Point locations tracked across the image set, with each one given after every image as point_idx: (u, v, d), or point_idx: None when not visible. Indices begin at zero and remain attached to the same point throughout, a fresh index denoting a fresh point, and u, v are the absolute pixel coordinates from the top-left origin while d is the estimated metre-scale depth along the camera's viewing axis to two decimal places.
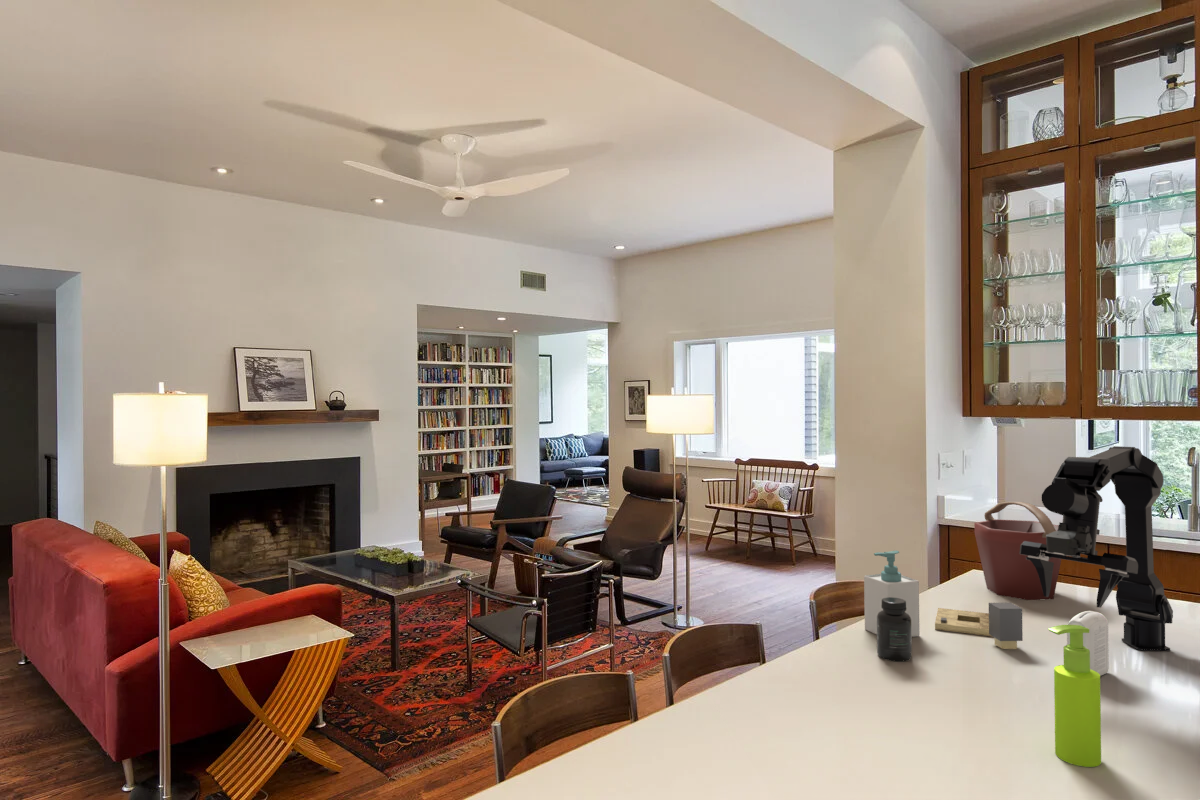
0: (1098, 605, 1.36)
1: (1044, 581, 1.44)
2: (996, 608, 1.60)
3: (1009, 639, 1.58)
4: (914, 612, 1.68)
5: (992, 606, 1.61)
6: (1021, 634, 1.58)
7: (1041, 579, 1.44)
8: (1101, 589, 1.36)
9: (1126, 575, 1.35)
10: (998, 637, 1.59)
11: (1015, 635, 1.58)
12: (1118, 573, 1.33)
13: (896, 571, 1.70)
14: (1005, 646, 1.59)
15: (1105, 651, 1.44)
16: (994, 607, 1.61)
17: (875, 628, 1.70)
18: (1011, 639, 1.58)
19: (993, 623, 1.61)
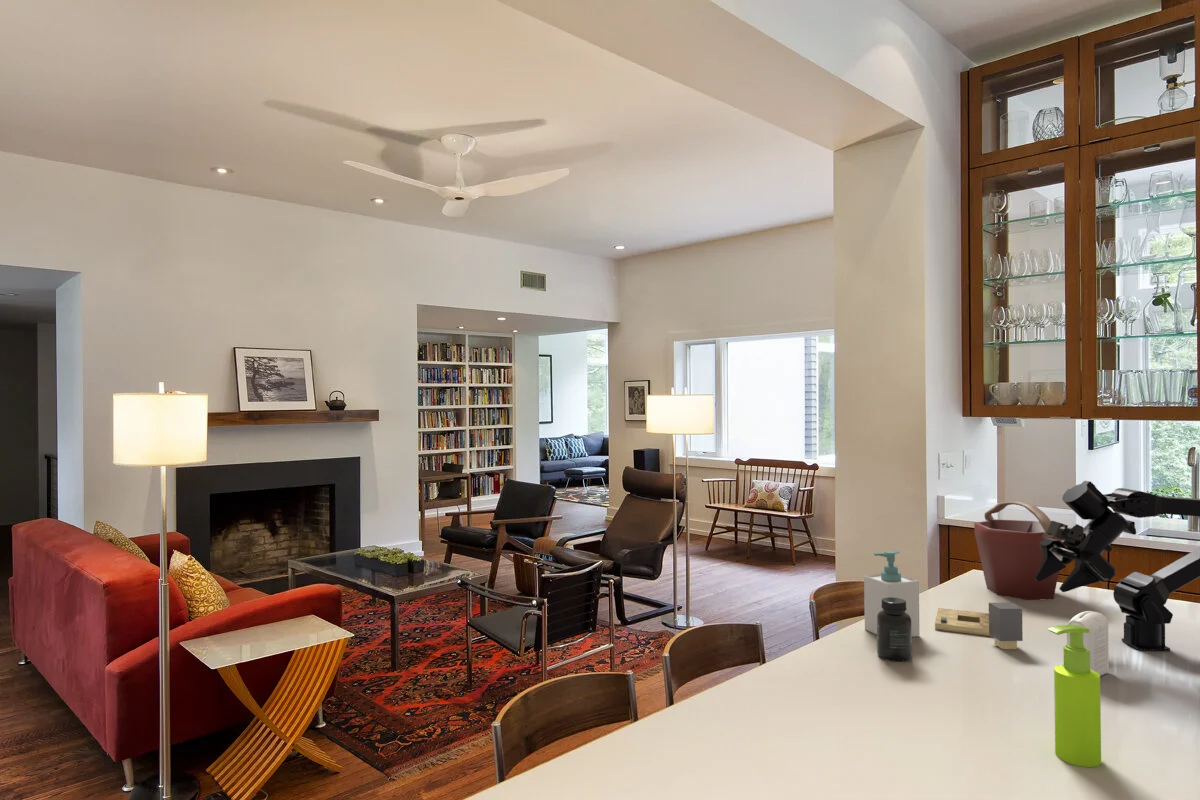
0: (1060, 587, 1.56)
1: (1041, 567, 1.65)
2: (996, 608, 1.60)
3: (1009, 639, 1.58)
4: (914, 612, 1.68)
5: (992, 606, 1.61)
6: (1021, 634, 1.58)
7: (1041, 565, 1.66)
8: (1069, 576, 1.55)
9: (1098, 576, 1.52)
10: (998, 637, 1.59)
11: (1015, 635, 1.58)
12: (1086, 564, 1.52)
13: (896, 571, 1.70)
14: (1005, 646, 1.59)
15: (1105, 651, 1.44)
16: (994, 607, 1.61)
17: (875, 628, 1.70)
18: (1011, 639, 1.58)
19: (993, 623, 1.61)
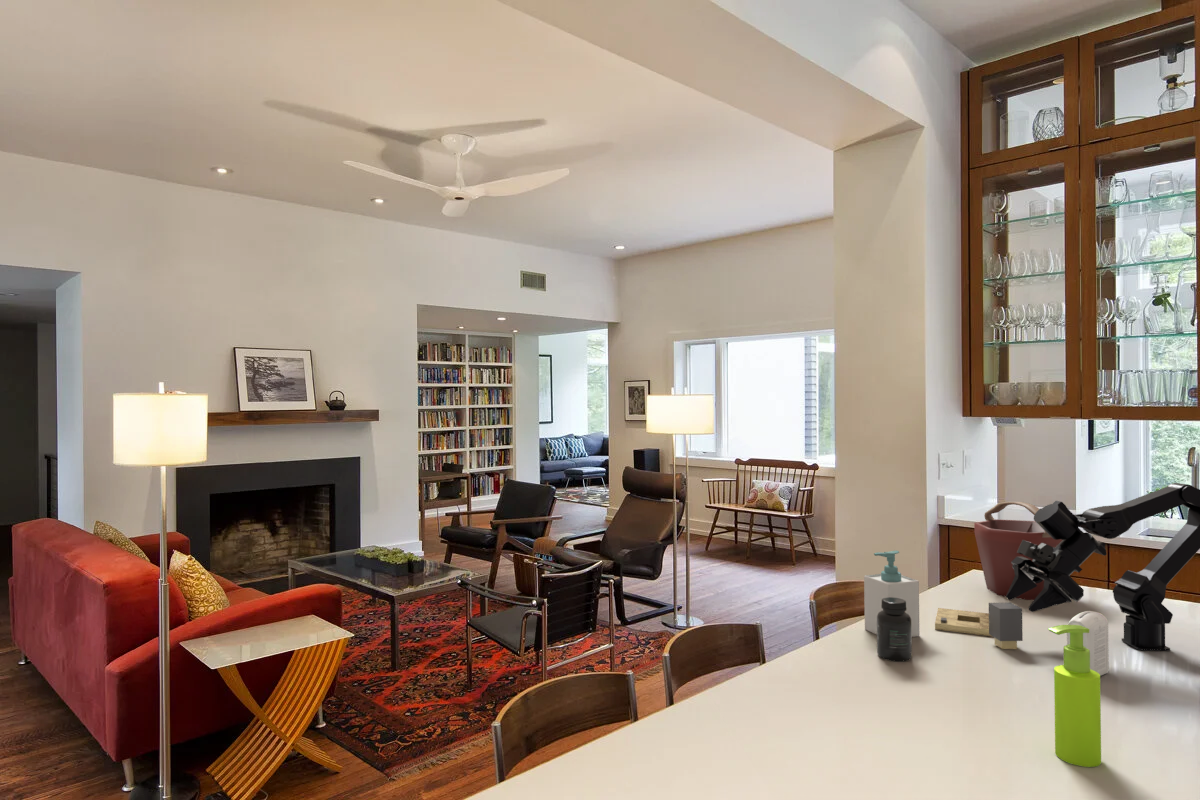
0: (1029, 607, 1.56)
1: (1012, 586, 1.65)
2: (996, 608, 1.60)
3: (1009, 639, 1.58)
4: (914, 612, 1.68)
5: (992, 606, 1.61)
6: (1021, 634, 1.58)
7: (1012, 584, 1.66)
8: (1038, 596, 1.55)
9: (1066, 597, 1.52)
10: (998, 637, 1.59)
11: (1015, 635, 1.58)
12: (1054, 585, 1.53)
13: (896, 571, 1.70)
14: (1005, 646, 1.59)
15: (1105, 651, 1.44)
16: (994, 607, 1.61)
17: (875, 628, 1.70)
18: (1011, 639, 1.58)
19: (993, 623, 1.61)
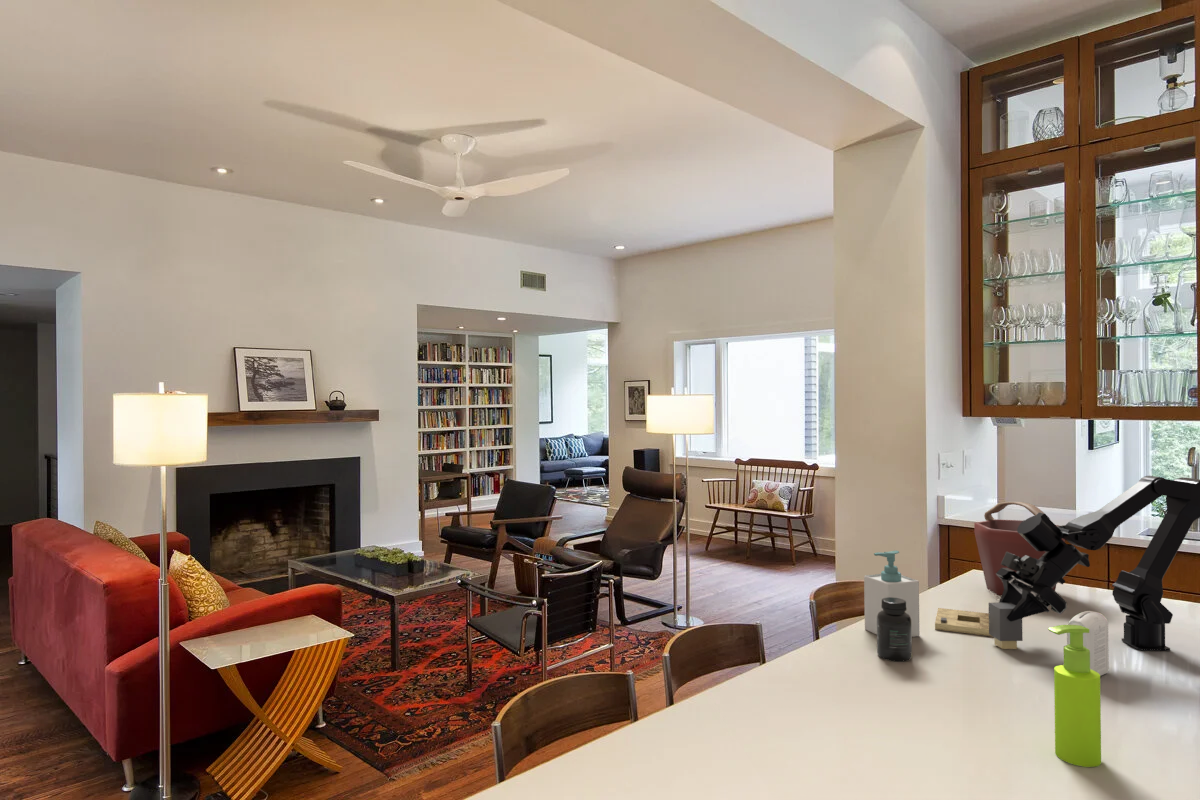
0: (1008, 617, 1.58)
1: (1001, 600, 1.63)
2: (996, 608, 1.60)
3: (1009, 639, 1.58)
4: (914, 612, 1.68)
5: (992, 606, 1.61)
6: (1021, 634, 1.58)
7: (1001, 598, 1.64)
8: (1017, 606, 1.58)
9: (1044, 606, 1.55)
10: (998, 637, 1.59)
11: (1014, 635, 1.58)
12: (1032, 595, 1.55)
13: (896, 571, 1.70)
14: (1005, 646, 1.59)
15: (1105, 651, 1.44)
16: (994, 607, 1.61)
17: (875, 628, 1.70)
18: (1011, 639, 1.58)
19: (993, 623, 1.61)
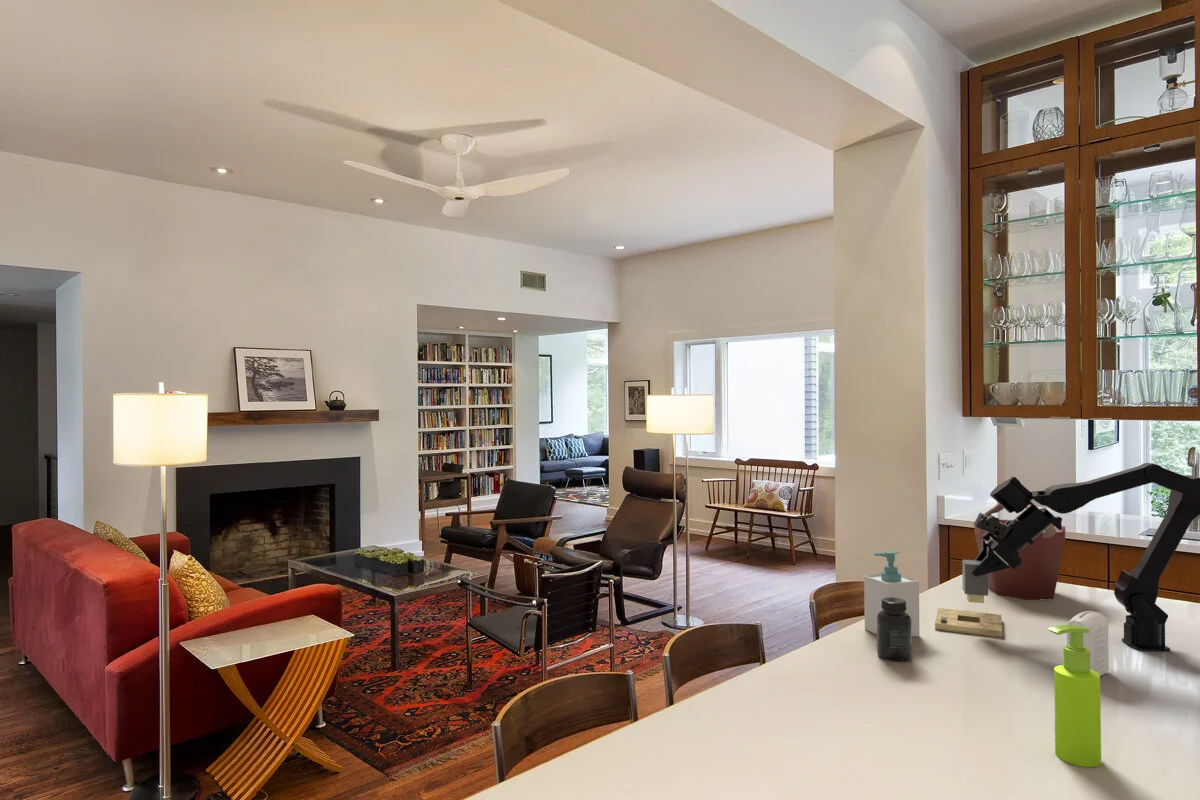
0: (973, 572, 1.69)
1: (976, 558, 1.73)
2: (964, 564, 1.71)
3: (974, 593, 1.69)
4: (914, 612, 1.68)
5: (963, 562, 1.73)
6: (987, 589, 1.68)
7: (976, 557, 1.74)
8: (981, 562, 1.68)
9: (1004, 563, 1.64)
10: (964, 591, 1.70)
11: (980, 589, 1.69)
12: (991, 551, 1.65)
13: (896, 571, 1.70)
14: (972, 600, 1.70)
15: (1105, 651, 1.44)
16: (963, 563, 1.72)
17: (875, 628, 1.70)
18: (976, 593, 1.69)
19: (963, 578, 1.72)
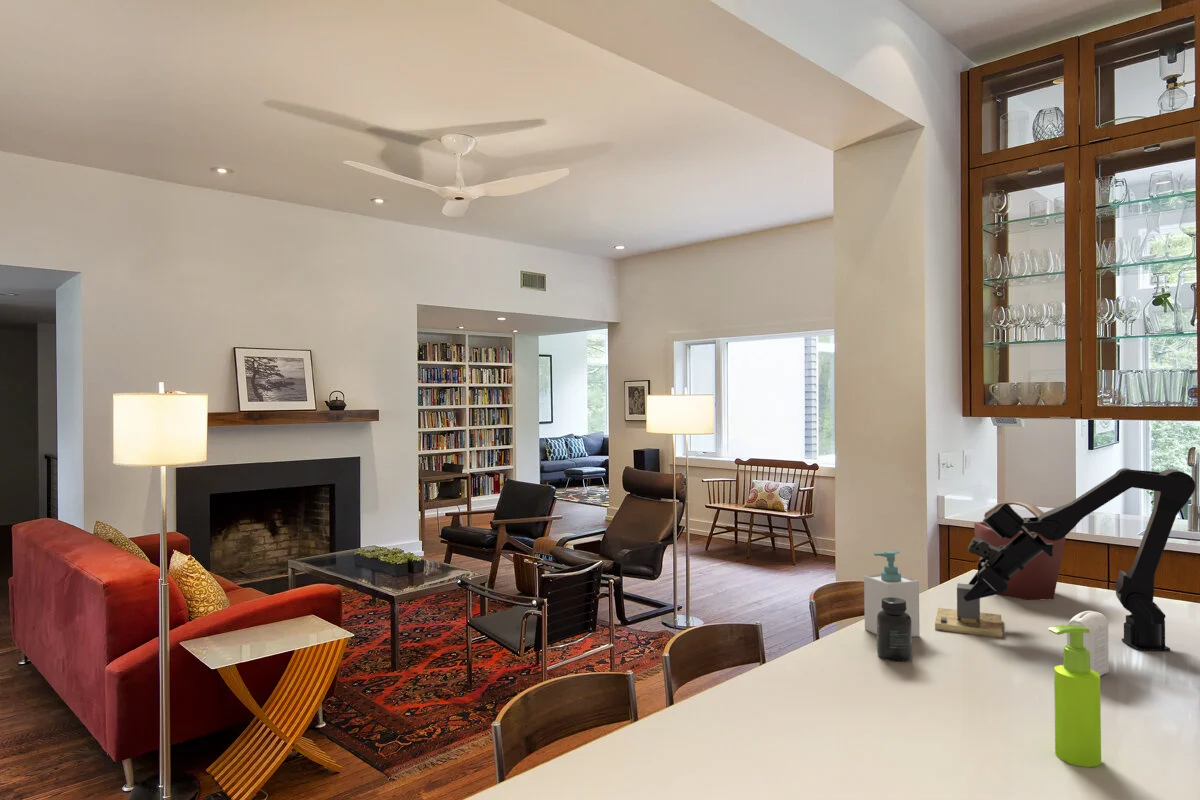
0: (964, 597, 1.72)
1: (971, 580, 1.79)
2: (957, 587, 1.76)
3: (966, 617, 1.74)
4: (914, 612, 1.68)
5: (957, 586, 1.78)
6: (978, 613, 1.73)
7: (972, 578, 1.80)
8: (972, 587, 1.71)
9: (992, 589, 1.67)
10: (957, 614, 1.75)
11: (972, 613, 1.73)
12: (980, 577, 1.68)
13: (896, 571, 1.70)
14: None
15: (1105, 651, 1.44)
16: (957, 587, 1.77)
17: (875, 628, 1.70)
18: (968, 616, 1.74)
19: None
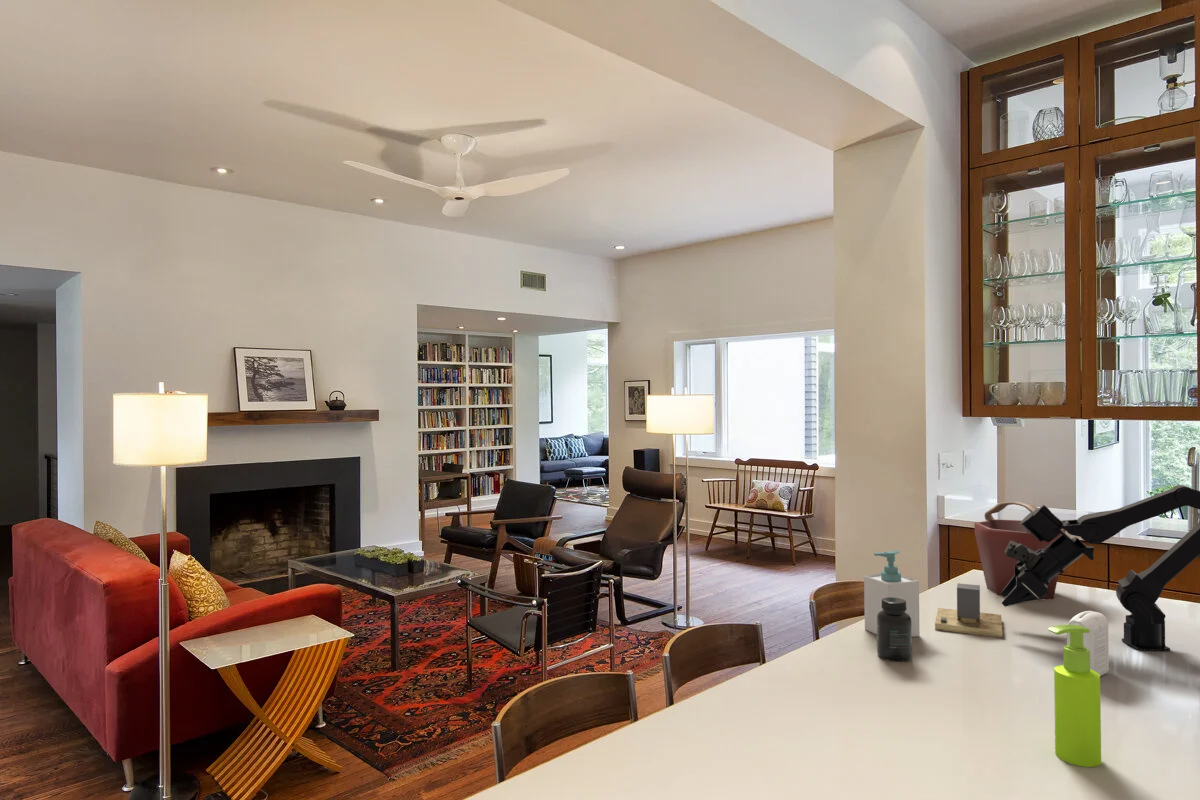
0: (1002, 602, 1.68)
1: (1008, 584, 1.76)
2: (957, 587, 1.76)
3: (966, 617, 1.74)
4: (914, 612, 1.68)
5: (957, 586, 1.78)
6: (978, 613, 1.73)
7: None
8: (1010, 592, 1.67)
9: (1032, 594, 1.63)
10: (957, 614, 1.75)
11: (972, 613, 1.73)
12: (1019, 582, 1.64)
13: (896, 571, 1.70)
14: None
15: (1105, 651, 1.44)
16: (957, 587, 1.77)
17: (875, 628, 1.70)
18: (968, 616, 1.74)
19: None
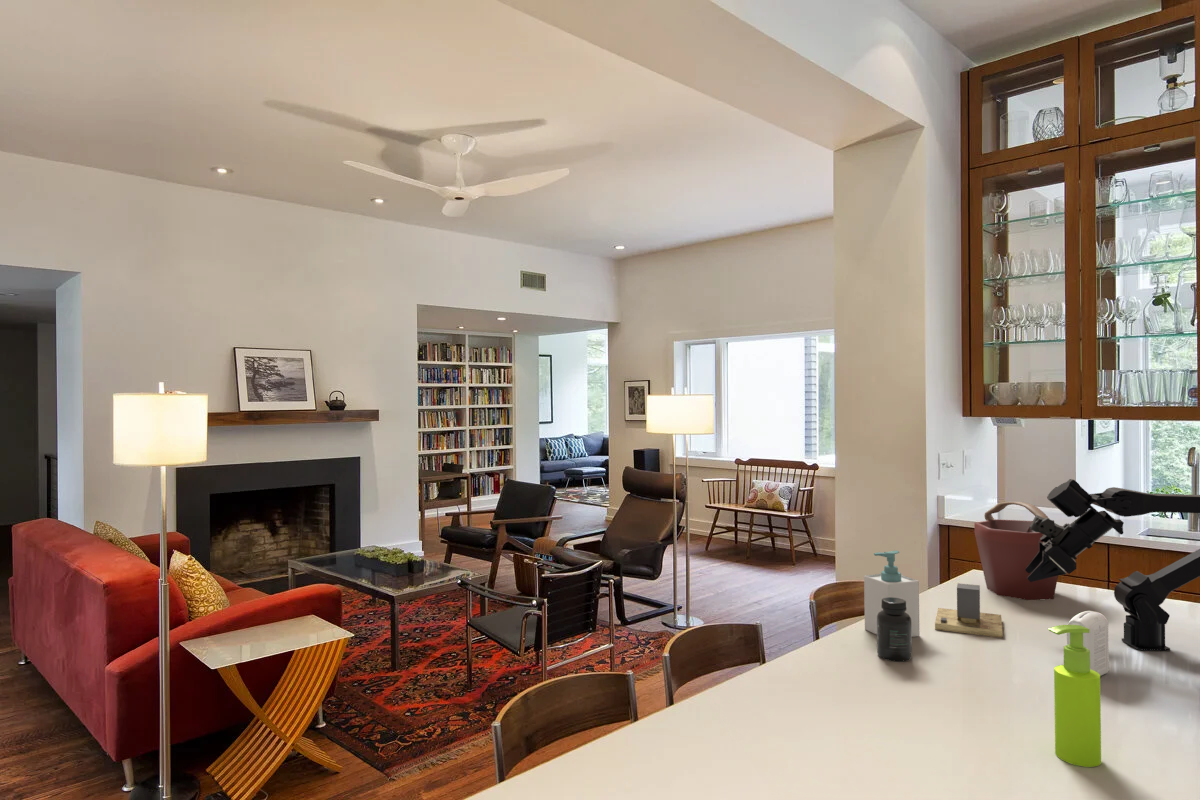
0: (1027, 577, 1.64)
1: (1032, 560, 1.72)
2: (957, 587, 1.76)
3: (966, 617, 1.74)
4: (914, 612, 1.68)
5: (957, 586, 1.78)
6: (978, 613, 1.73)
7: (1033, 558, 1.72)
8: (1036, 567, 1.63)
9: (1059, 569, 1.59)
10: (957, 614, 1.75)
11: (972, 613, 1.73)
12: (1046, 556, 1.60)
13: (896, 571, 1.70)
14: None
15: (1105, 651, 1.44)
16: (957, 587, 1.77)
17: (875, 628, 1.70)
18: (968, 616, 1.74)
19: None
